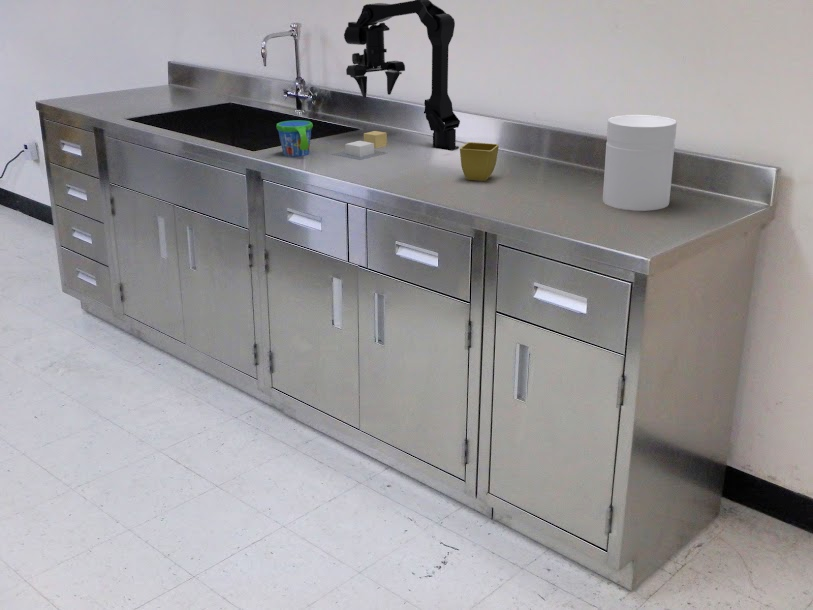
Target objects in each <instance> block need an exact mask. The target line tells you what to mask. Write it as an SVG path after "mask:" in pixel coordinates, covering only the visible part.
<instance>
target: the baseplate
mask: <svg viewBox="0 0 813 610" xmlns="http://www.w3.org/2000/svg"><path fill="white" fill-rule="evenodd" d="M386 154H387V152H385V151H380V150H375V149H374V153H373V154H369V155H365V156H361V157H359V156H354V155H349V154H346V150H344V151H339V152H334V153H332V154H331V155H333V156H338V157H341V158H342V157H343V158H348V159H352V160H359V161H364V160H366V159H370V158H374V157H379V156H383V155H386Z"/></svg>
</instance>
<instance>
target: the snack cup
mask: <svg viewBox="0 0 813 610" xmlns="http://www.w3.org/2000/svg"><path fill="white" fill-rule="evenodd" d="M313 126H314V125H313V122H311V121H310V120H302V119H301V120H299V119H297V120H284V121H280V122H278V123H276V130H277V132H278V135H279V141H280V144H281V149H282V154H283V156H285V157H291V158H293V157H296V158H297V157H304V156H308V155H310V146H311V136H312V129H313Z"/></svg>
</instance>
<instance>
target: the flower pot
mask: <svg viewBox="0 0 813 610" xmlns="http://www.w3.org/2000/svg"><path fill="white" fill-rule="evenodd" d="M499 146H500V145H499V144H497V143H496V144H495V143H486V142H475V141H474V142H469V141H468V142H466V143H465V144H464V145H462V146H461V147H459V155H460V165H461V169H462V172H463V175H464V177H465V178H466V180H468V181H476V182H477V181H479V182H486V181H487V180H488V179H490V177H491V175H492V174H493V173H494V170H495V168H496V164H497V160H498V154H499V148H500V147H499Z"/></svg>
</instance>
